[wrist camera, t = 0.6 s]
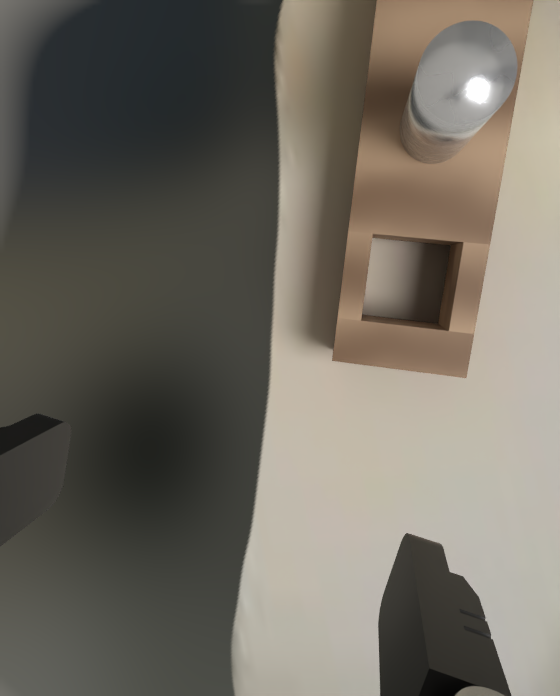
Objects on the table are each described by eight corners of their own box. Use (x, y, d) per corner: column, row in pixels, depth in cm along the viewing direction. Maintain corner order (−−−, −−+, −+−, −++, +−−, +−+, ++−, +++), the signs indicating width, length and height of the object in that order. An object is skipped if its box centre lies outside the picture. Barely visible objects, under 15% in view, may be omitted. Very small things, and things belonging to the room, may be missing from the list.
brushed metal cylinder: (447, 75, 27) (484, -2, 19) (484, 135, 28) (536, 82, 20) (386, 120, 28) (398, 63, 20) (422, 177, 28) (449, 143, 21)
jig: (382, -35, 30) (386, -79, 26) (521, -32, 29) (547, -78, 25) (334, 350, 35) (332, 360, 31) (453, 365, 34) (466, 378, 30)
